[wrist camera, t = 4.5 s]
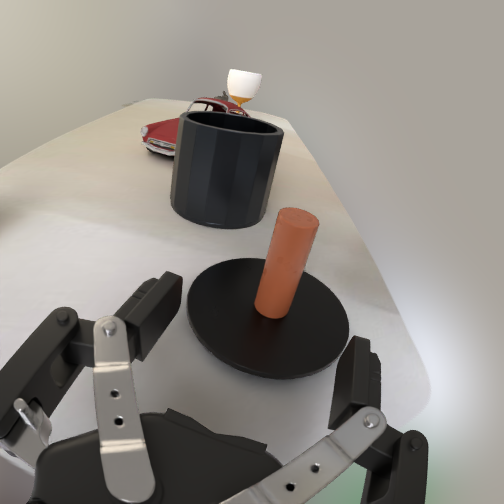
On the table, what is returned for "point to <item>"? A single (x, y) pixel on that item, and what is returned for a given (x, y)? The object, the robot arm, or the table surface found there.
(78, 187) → the table surface
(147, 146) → the toy car
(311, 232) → the lid
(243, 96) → the cup
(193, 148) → the canister
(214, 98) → the dog figurine
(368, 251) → the table surface
